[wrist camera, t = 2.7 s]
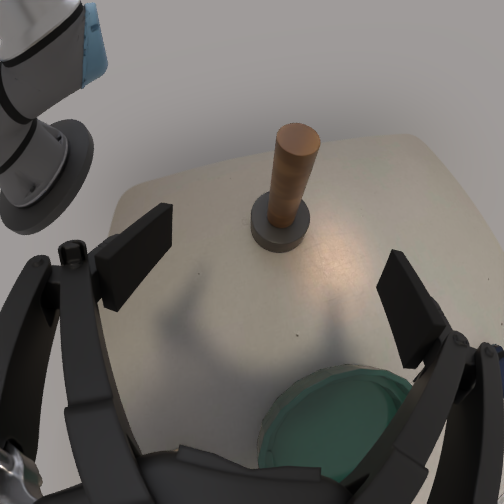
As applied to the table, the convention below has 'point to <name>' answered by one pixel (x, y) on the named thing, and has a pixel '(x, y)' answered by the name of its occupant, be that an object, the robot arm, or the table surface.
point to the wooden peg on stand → (286, 190)
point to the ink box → (501, 500)
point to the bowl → (330, 419)
